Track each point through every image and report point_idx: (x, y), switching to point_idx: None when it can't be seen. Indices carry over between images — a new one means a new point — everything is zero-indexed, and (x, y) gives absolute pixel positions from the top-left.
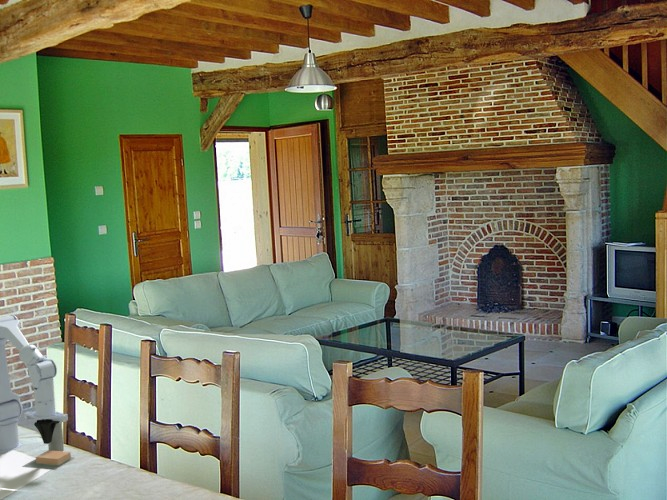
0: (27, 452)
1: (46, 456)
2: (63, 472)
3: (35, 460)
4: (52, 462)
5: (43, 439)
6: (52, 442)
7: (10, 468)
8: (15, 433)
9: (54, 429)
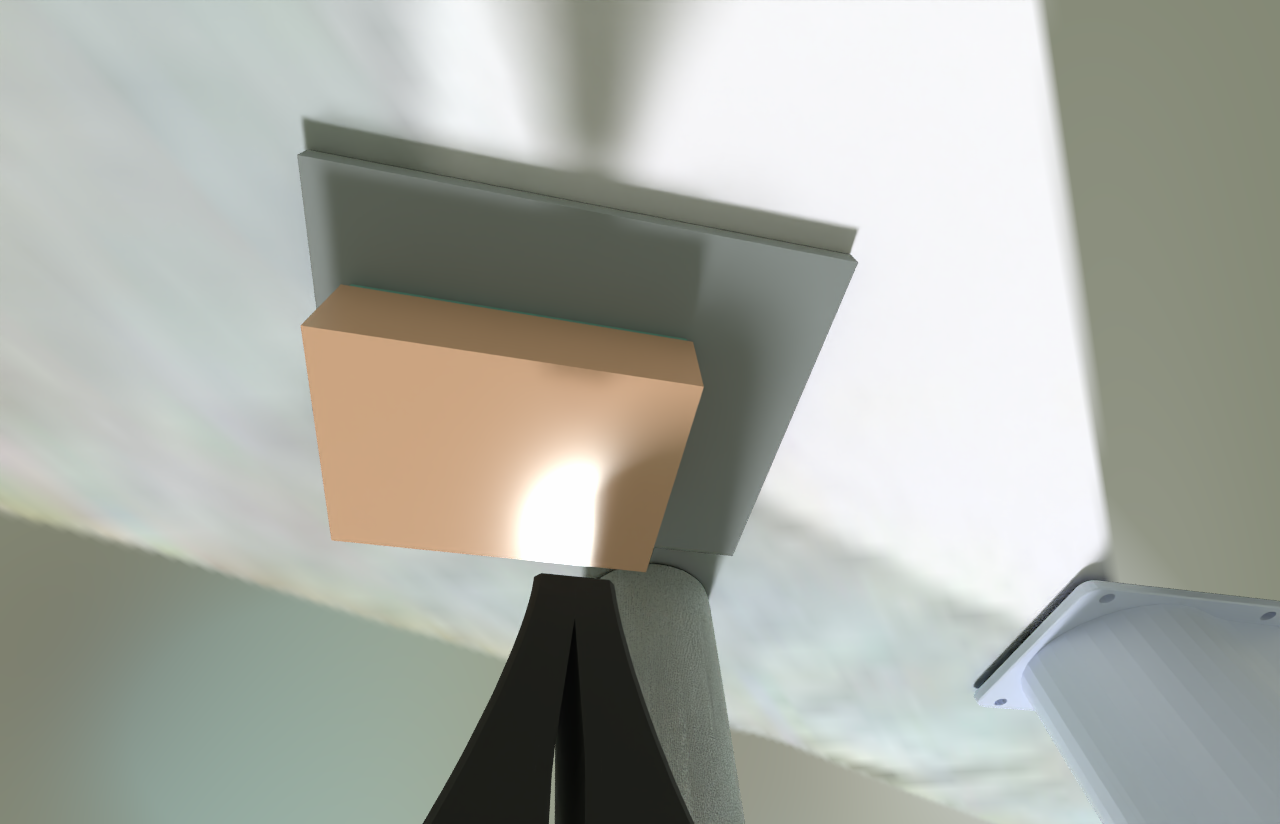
0: (915, 597)
1: (556, 409)
2: (144, 110)
3: (754, 433)
4: (429, 315)
5: (597, 641)
6: (650, 681)
7: (1001, 237)
8: (1121, 785)
9: None
